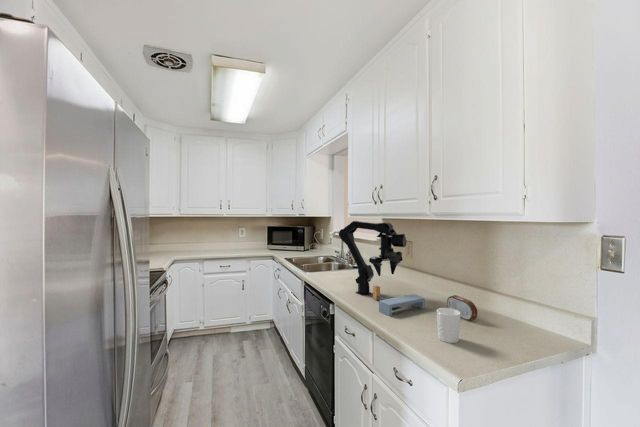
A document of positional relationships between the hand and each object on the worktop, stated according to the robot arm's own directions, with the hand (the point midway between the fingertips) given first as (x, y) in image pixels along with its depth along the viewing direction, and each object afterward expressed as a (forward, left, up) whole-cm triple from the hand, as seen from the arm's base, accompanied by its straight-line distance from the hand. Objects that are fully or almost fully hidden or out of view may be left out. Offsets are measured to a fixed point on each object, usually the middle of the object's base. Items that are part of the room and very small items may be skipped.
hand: (386, 275), depth 156 cm
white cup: (+50, -15, -12) cm, 54 cm away
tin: (+38, +9, -12) cm, 41 cm away
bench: (+19, -7, -12) cm, 24 cm away
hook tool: (+8, -9, -12) cm, 17 cm away
